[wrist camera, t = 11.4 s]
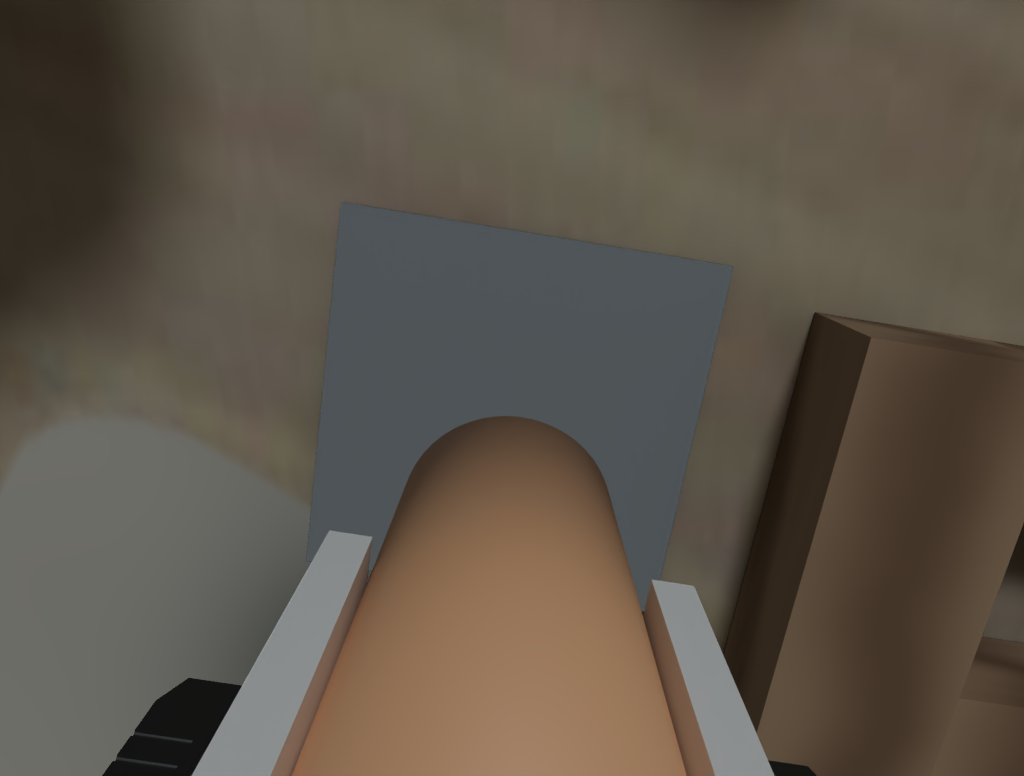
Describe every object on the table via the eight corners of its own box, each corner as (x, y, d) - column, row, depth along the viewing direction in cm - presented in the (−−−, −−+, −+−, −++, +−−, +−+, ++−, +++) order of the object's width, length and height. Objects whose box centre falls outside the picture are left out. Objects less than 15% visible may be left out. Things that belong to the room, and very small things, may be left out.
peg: (390, 593, 19) (174, 1251, 7) (415, 400, 18) (203, 824, 6) (590, 623, 19) (695, 1318, 7) (630, 434, 18) (833, 912, 6)
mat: (309, 554, 26) (305, 561, 26) (344, 202, 23) (340, 202, 23) (649, 605, 27) (652, 612, 26) (729, 265, 24) (733, 267, 23)
